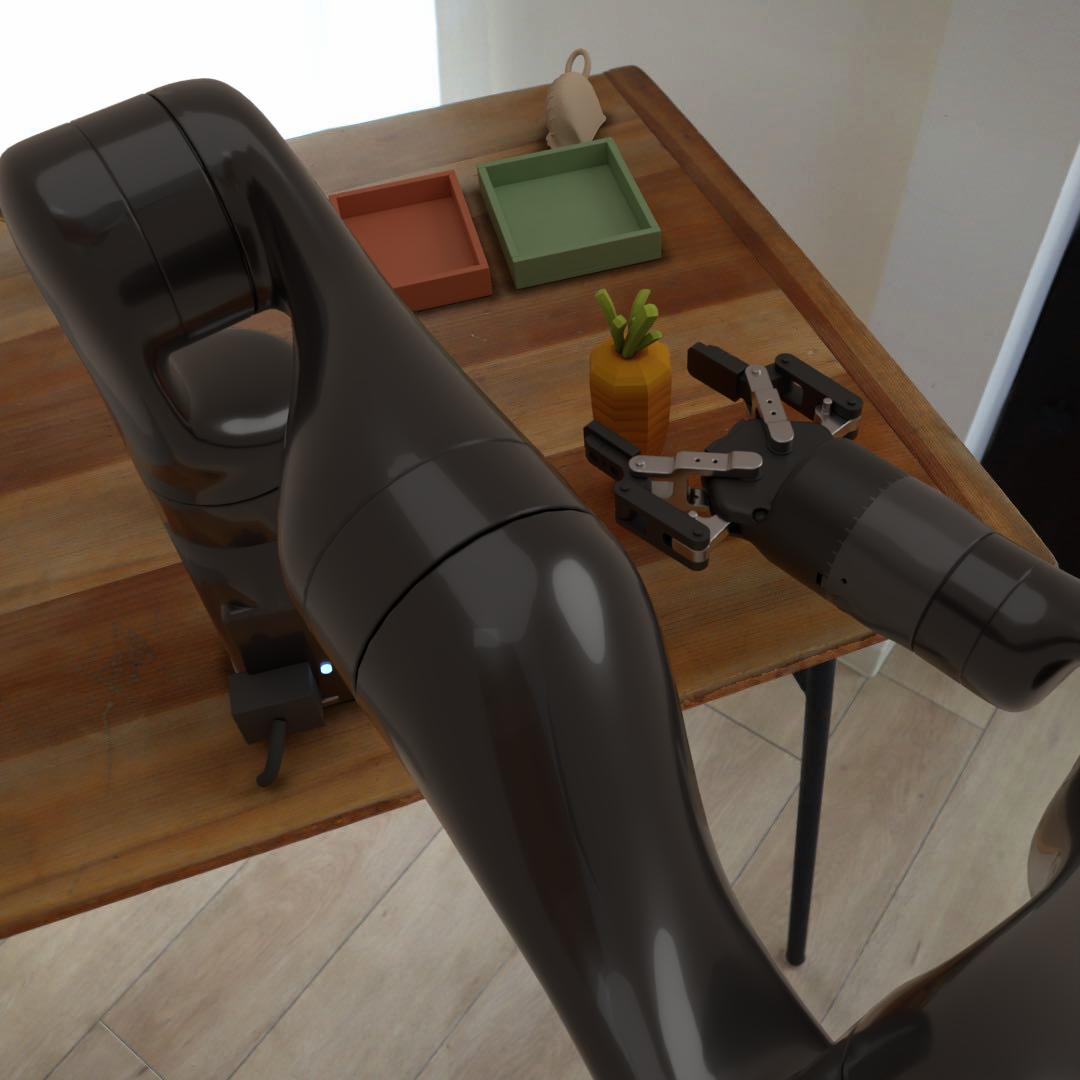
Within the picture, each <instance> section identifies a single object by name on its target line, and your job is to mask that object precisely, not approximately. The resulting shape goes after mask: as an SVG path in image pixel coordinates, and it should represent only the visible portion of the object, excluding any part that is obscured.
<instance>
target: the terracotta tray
mask: <svg viewBox="0 0 1080 1080" xmlns="http://www.w3.org/2000/svg"><path fill="white" fill-rule="evenodd" d="M327 198H328V200H329V201H330V202H331V204H332V205H333V207H334V208H335V209H336V211H337V212H338V214H339V215H340V216H341V218H342V219H343V221H344V222H345V223H346V225H347V226H348V227H349V229H350V230H351V232H352V233H353V234H354V236H355V237H356V239H357V240H358V241H359V243H360V244H361V246H362V247H363V248H364V250H365V251H366V252H367V254H368V255H369V257H370V258H371V259H372V261H373V262H374V263H375V265H376V266H377V268H378V269H379V270H380V272H381V273H382V274H383V276H384V277H385V278H386V280H387V281H388V282H389V284H390V285H391V286H392V288H393V289H394V290H395V291H396V293H397V294H398V295H399V296H400V298H401V299H402V300H403V301H404V303H405V304H406V305H407V306H408V307H409V309H410V310H411V311H412V312H413V313H415V312H419V311H423V310H429V309H433V308H437V307H442V306H447V305H451V304H456V303H460V302H464V301H470V300H473V299H474V300H475V299H480V298H484V297H488V296H493V286H492V279H491V271H490V266H489V263H488V260H487V258H486V255H485V252H484V250H483V246H482V244H481V241H480V237H479V235H478V233H477V230H476V227H475V223H474V221H473V219H472V216H471V213H470V210H469V207H468V204H467V201H466V199H465V196H464V193H463V190H462V186H461V184H460V182H459V178H458V176H457V174H456V170H455V169H449V170H444V171H439V172H434V173H430V174H425V175H420V176H415V177H411V178H410V177H409V178H405V179H401V180H396V181H391V182H387V183H382V184H377V185H371V186H367V187H362V188H357V189H352V190H347V191H343V192H338V193H332V194H328V195H327Z"/></svg>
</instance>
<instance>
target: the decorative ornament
mask: <svg viewBox="0 0 1080 1080" xmlns="http://www.w3.org/2000/svg"><path fill="white" fill-rule="evenodd" d="M579 56H582V57H583V59H584V66H583V70H582V72H581V73H580V72H577V71H572V68H573V65H574V62H575V60H576V59H577V57H579ZM591 72H592V59H591V55H590V53H589V52H588V51H587V49H585V48H583V47H582V48H576V49H574V50H573V51H572V52H571V53H570V55H569V57H568V58H567V60H566V63H565V67H564V73H561V74H560V75H559V76H558V77H556V78H555V79H553V81H552V82H551V85H550V86H549V88H548V90H547V92H546V93H547V94H546V98H545V105H544V118H545V124H546V127H547V131H548V134H547V135H546V137H545V141H546V145H547V147H548V148H550V149H555V148H560V147H565V146H569V145H574V144H579V143H584V142H589V141H594V140H593V139H594V137H595V136H596V134H597V132H598V131H599V129H600V127H601V126H602V125H603V124H604V122H606V121H607V117H606V116H605V114H603V109H602V107H601V104H600V101H599V98H598V96H597V93H596V91H595V89H594V87H593V85H592V83H591V82H590V80H589V78H590V75H591Z"/></svg>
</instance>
